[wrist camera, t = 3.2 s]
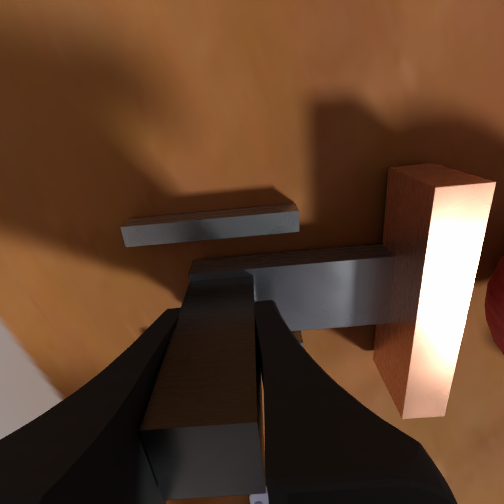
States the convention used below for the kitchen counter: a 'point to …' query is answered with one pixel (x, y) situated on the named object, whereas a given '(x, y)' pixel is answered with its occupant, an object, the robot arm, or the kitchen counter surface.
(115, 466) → the robot arm
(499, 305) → the onion
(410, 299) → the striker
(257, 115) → the kitchen counter surface
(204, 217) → the rail
